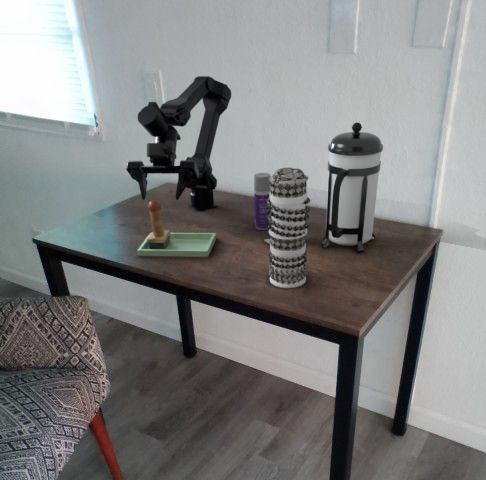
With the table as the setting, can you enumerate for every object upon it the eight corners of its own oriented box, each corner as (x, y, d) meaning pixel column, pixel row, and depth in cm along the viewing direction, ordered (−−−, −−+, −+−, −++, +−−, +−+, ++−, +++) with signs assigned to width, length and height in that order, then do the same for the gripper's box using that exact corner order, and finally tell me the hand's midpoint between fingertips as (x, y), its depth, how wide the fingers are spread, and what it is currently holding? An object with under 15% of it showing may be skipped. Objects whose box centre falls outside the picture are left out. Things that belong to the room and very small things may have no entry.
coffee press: (308, 236, 135) (311, 120, 118) (363, 229, 137) (374, 114, 121) (329, 262, 120) (337, 134, 104) (391, 254, 122) (407, 127, 106)
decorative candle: (287, 267, 119) (287, 162, 106) (316, 279, 113) (320, 169, 100) (259, 279, 114) (256, 171, 101) (288, 293, 108) (288, 179, 95)
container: (260, 231, 139) (258, 178, 131) (252, 226, 143) (250, 174, 135) (274, 227, 141) (273, 175, 133) (266, 223, 144) (265, 171, 136)
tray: (138, 257, 128) (137, 250, 126) (151, 239, 138) (150, 232, 137) (208, 258, 125) (207, 251, 124) (216, 240, 135) (216, 232, 134)
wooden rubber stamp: (148, 251, 129) (141, 204, 123) (155, 241, 135) (148, 196, 128) (165, 251, 129) (158, 204, 122) (171, 241, 134) (165, 196, 127)
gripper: (122, 129, 127) (114, 184, 124) (192, 128, 124) (186, 184, 121) (136, 153, 138) (130, 204, 134) (201, 152, 135) (196, 204, 132)
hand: (159, 199), depth 130 cm, fingers open, 9 cm apart
